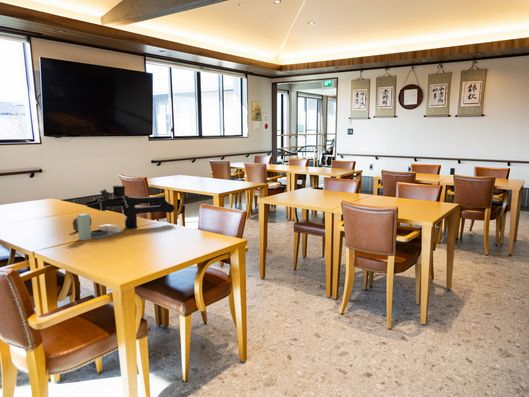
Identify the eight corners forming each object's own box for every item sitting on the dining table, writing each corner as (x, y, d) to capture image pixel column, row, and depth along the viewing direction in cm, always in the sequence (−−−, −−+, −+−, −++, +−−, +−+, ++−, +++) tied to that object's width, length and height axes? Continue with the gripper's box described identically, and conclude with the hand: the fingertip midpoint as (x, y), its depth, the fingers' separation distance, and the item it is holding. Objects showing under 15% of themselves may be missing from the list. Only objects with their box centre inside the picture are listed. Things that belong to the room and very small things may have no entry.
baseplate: (108, 229, 247) (108, 223, 246) (124, 232, 240) (123, 226, 239) (82, 235, 232) (82, 229, 231) (98, 239, 225) (97, 232, 224)
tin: (76, 232, 239) (75, 219, 237) (72, 232, 239) (71, 218, 238) (92, 227, 253) (91, 214, 252) (87, 226, 254) (87, 213, 252)
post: (85, 237, 228) (84, 213, 226) (91, 238, 226) (89, 214, 224) (78, 239, 224) (77, 214, 222) (83, 240, 222) (82, 215, 220)
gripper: (110, 187, 252) (84, 189, 245) (115, 191, 236) (86, 193, 229) (112, 205, 254) (85, 207, 247) (116, 210, 238) (88, 212, 231)
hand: (86, 204), depth 238 cm, fingers open, 9 cm apart
